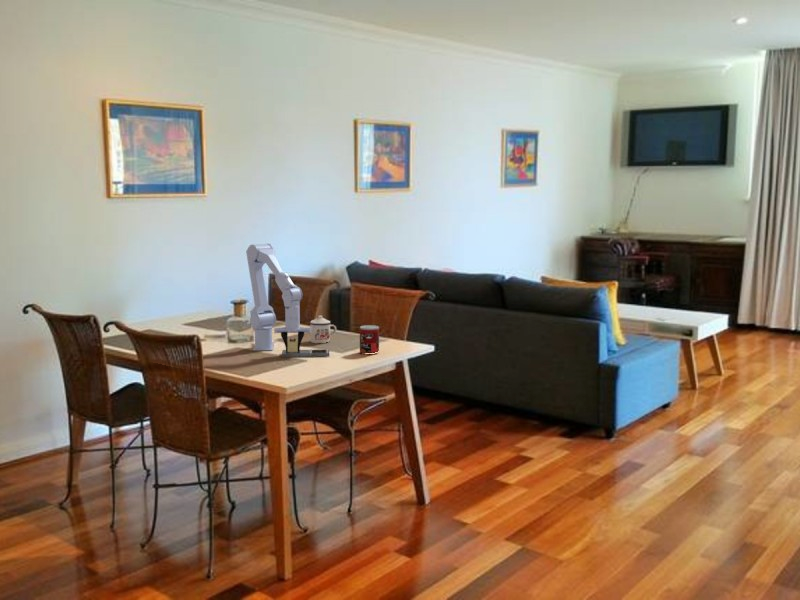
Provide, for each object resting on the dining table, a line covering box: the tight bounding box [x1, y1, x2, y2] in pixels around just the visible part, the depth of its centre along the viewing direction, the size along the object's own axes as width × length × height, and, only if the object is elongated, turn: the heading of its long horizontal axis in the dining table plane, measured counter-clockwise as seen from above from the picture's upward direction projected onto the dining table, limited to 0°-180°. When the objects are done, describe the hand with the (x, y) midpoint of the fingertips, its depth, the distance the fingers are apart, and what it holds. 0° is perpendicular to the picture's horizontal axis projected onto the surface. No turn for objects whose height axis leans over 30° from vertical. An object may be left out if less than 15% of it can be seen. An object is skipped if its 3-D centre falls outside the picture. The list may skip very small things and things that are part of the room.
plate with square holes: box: [281, 348, 330, 358], centre depth 319 cm, size 7×19×2 cm, turn 95°
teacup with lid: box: [309, 315, 337, 344], centre depth 347 cm, size 12×9×12 cm
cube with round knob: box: [288, 337, 298, 353], centre depth 318 cm, size 4×4×7 cm
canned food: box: [359, 324, 380, 354], centre depth 324 cm, size 8×8×11 cm
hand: (292, 350), depth 319 cm, fingers closed on cube with round knob, 4 cm apart
